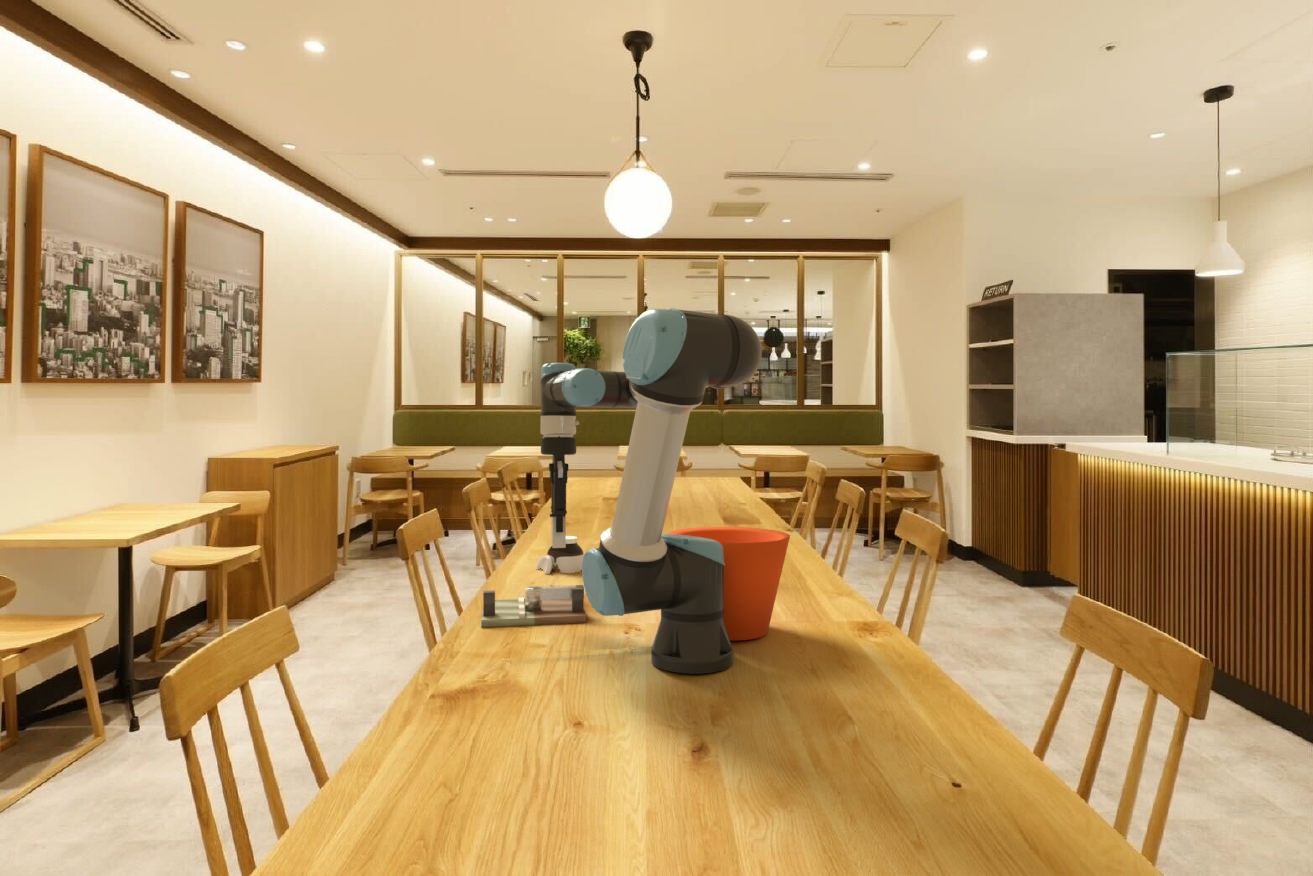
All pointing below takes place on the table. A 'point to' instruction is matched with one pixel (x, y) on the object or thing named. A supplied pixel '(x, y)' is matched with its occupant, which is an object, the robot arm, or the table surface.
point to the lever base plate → (516, 614)
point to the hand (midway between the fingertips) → (558, 546)
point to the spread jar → (563, 558)
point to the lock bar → (546, 595)
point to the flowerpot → (747, 575)
